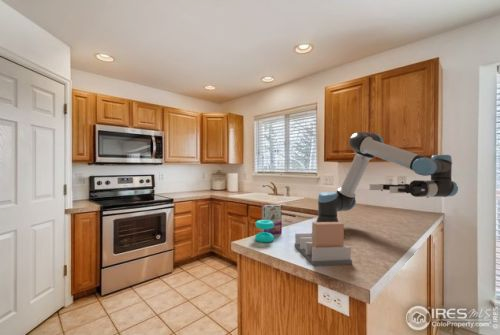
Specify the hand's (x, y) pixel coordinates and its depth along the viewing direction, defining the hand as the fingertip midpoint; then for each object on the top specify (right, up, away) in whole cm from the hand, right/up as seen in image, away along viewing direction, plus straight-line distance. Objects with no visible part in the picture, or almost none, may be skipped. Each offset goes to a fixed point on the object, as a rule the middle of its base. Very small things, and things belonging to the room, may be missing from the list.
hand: (379, 188), depth 107 cm
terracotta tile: (-26, -28, -7) cm, 39 cm away
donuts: (-51, -30, +20) cm, 62 cm away
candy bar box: (-45, -30, +34) cm, 64 cm away
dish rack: (-27, -29, -1) cm, 40 cm away
